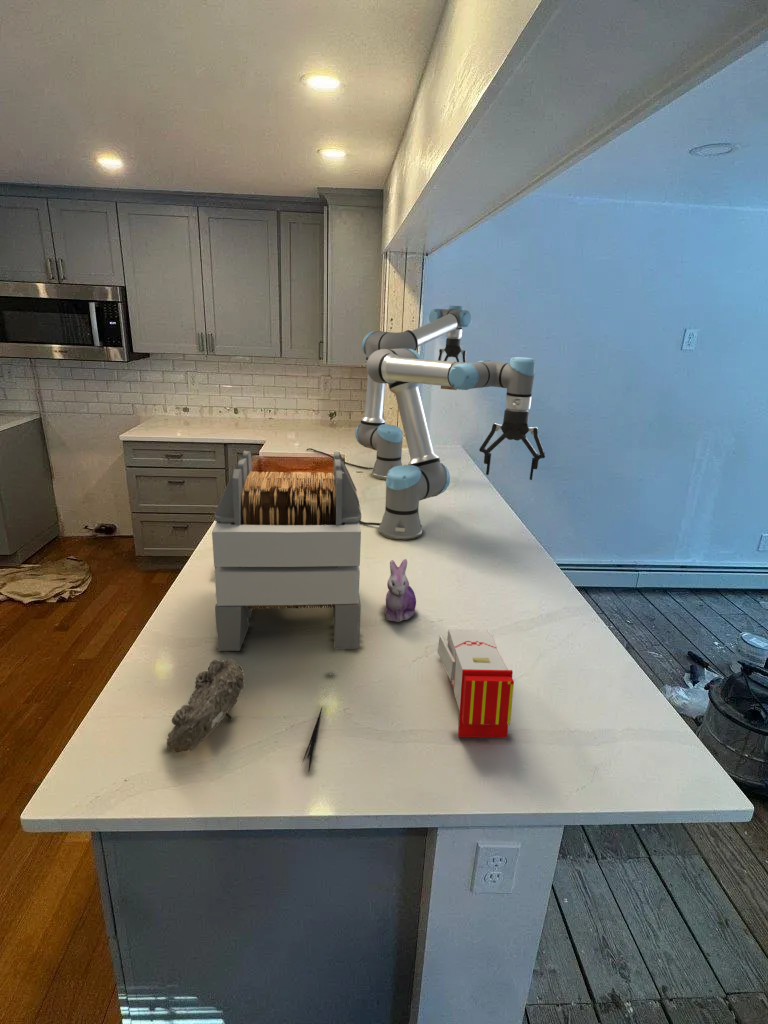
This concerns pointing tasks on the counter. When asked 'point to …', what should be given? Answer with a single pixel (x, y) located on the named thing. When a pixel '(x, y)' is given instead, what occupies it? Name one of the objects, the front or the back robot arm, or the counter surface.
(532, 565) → the counter surface
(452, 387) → the block
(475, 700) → the toy
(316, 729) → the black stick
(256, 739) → the counter surface
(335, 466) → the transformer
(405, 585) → the figurine
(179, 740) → the fossil
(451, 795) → the counter surface
